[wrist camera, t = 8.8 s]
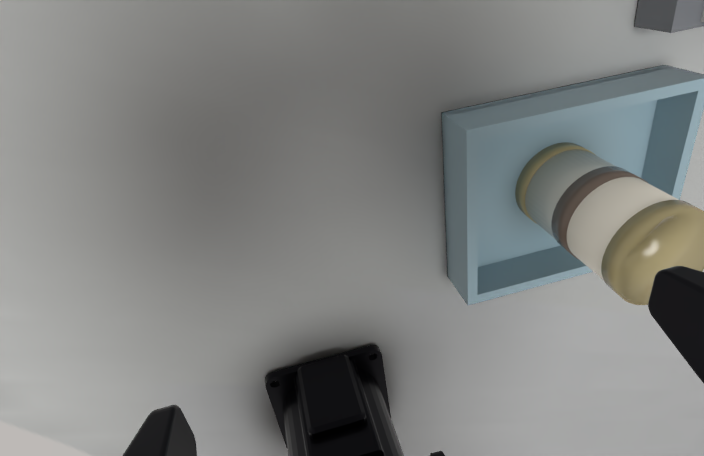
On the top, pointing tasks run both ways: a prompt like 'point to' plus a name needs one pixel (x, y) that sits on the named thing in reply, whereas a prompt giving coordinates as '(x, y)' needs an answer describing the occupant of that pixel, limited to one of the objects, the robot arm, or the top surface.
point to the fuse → (610, 218)
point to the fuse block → (670, 15)
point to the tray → (535, 135)
